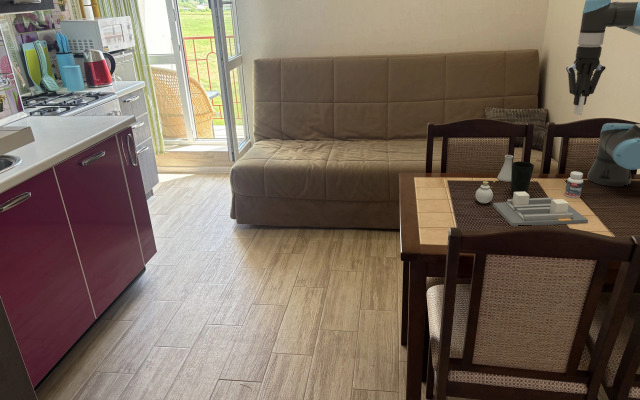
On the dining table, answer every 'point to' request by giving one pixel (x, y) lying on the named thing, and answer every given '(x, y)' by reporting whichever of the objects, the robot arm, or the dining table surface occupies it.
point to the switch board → (537, 213)
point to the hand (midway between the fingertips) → (577, 113)
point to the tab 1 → (520, 198)
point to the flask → (506, 169)
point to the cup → (521, 176)
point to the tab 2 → (558, 206)
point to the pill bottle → (574, 185)
